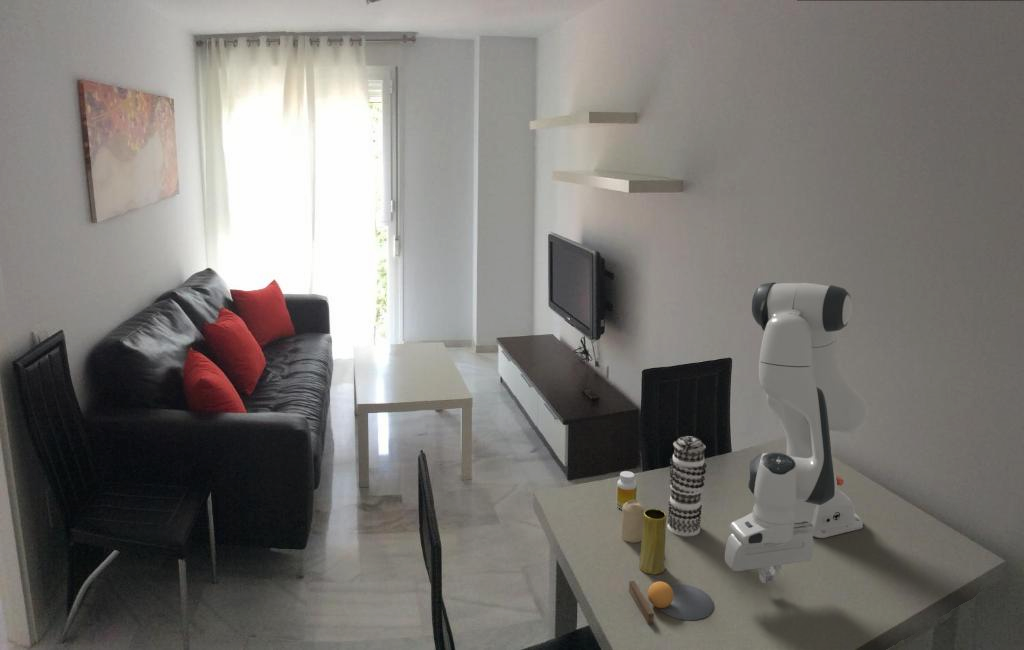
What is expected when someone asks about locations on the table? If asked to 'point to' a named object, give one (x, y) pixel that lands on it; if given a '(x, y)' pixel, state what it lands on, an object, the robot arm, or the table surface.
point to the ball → (660, 594)
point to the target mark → (688, 603)
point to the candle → (632, 521)
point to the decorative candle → (686, 486)
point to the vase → (653, 542)
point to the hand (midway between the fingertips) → (767, 580)
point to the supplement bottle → (626, 488)
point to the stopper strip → (641, 602)
